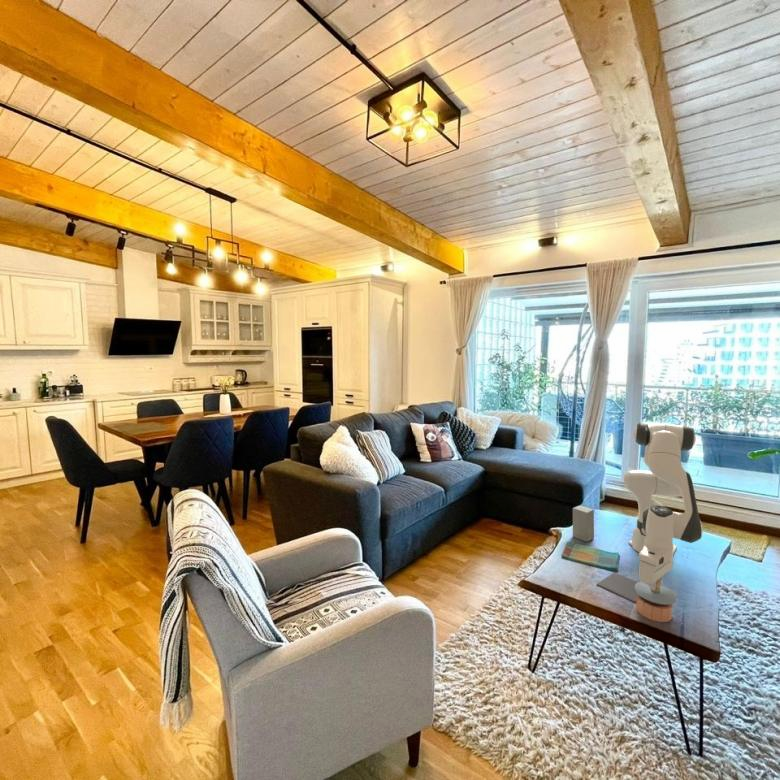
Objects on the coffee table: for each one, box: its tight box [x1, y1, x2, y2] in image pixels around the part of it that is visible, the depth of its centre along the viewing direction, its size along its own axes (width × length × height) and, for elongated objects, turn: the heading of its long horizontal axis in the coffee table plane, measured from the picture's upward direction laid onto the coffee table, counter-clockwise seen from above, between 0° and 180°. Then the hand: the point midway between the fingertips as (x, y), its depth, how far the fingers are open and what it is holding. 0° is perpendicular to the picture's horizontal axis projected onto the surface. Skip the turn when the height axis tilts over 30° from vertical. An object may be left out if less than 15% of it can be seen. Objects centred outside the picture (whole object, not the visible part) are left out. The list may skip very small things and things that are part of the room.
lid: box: [635, 580, 678, 605], centre depth 153 cm, size 13×13×5 cm
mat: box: [596, 571, 638, 604], centre depth 170 cm, size 15×15×1 cm
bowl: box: [635, 594, 674, 623], centre depth 154 cm, size 11×11×5 cm
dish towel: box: [561, 541, 621, 573], centre depth 194 cm, size 17×23×2 cm
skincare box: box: [572, 505, 595, 543], centre depth 213 cm, size 8×7×16 cm
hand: (655, 587), depth 153 cm, fingers closed on lid, 3 cm apart
